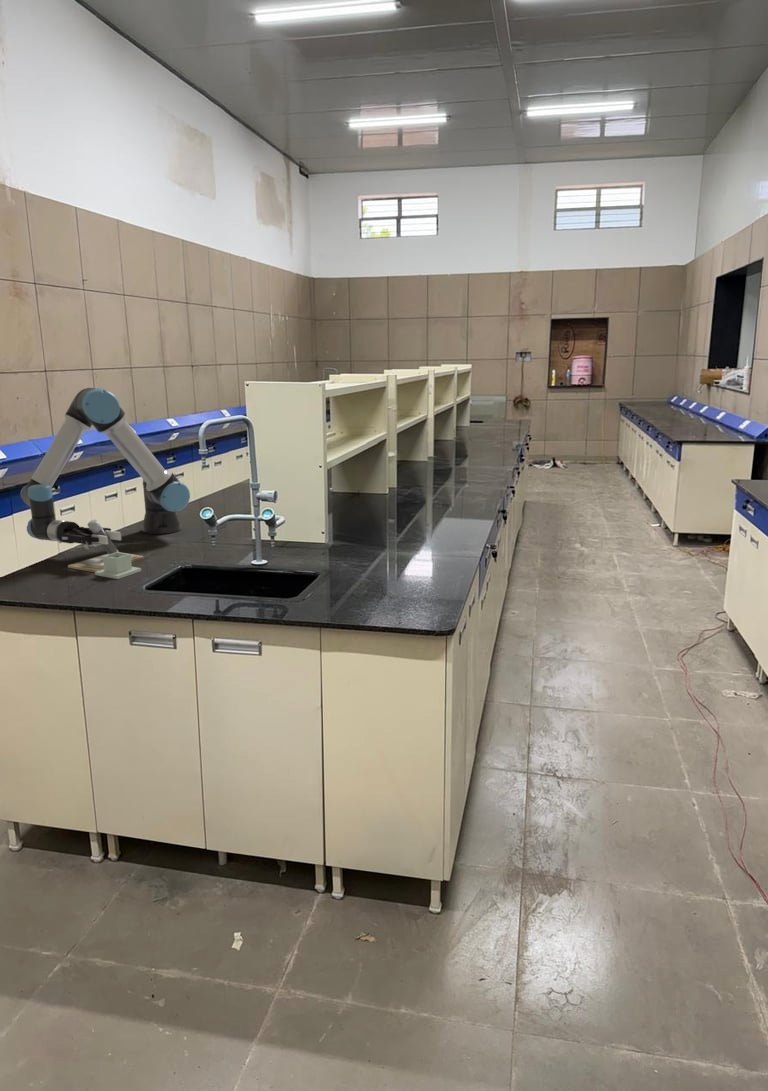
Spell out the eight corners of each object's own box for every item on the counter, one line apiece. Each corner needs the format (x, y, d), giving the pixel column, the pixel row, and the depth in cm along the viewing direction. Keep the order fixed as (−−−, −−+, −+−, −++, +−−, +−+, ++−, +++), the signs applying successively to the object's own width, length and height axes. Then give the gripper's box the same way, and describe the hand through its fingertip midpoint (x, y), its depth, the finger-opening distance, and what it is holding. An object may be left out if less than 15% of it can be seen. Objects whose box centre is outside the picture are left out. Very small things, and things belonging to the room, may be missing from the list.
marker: (114, 551, 255) (91, 519, 245) (121, 551, 254) (98, 520, 244) (108, 557, 253) (85, 526, 243) (115, 558, 252) (92, 526, 242)
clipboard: (114, 553, 262) (114, 549, 262) (143, 558, 256) (143, 554, 255) (68, 567, 245) (67, 563, 244) (97, 573, 239) (97, 568, 238)
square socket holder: (119, 567, 245) (117, 549, 244) (141, 571, 241) (139, 553, 239) (95, 574, 236) (93, 557, 235) (117, 579, 232) (115, 560, 230)
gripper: (86, 536, 264) (134, 542, 254) (44, 548, 249) (93, 556, 238) (83, 515, 262) (132, 521, 252) (41, 527, 247) (90, 533, 236)
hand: (113, 538), depth 245 cm, fingers closed on marker, 5 cm apart
